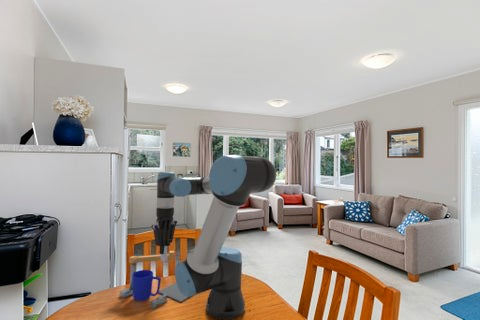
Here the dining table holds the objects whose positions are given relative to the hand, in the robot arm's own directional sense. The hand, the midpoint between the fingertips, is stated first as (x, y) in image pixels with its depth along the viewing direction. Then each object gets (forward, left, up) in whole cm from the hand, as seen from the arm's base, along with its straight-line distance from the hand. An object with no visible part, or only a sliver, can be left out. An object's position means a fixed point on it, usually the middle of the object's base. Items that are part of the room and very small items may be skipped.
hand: (163, 260), depth 114 cm
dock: (+2, +8, -13) cm, 16 cm away
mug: (+1, +8, -14) cm, 16 cm away
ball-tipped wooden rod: (+5, +2, 0) cm, 5 cm away
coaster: (-6, -3, -13) cm, 15 cm away
